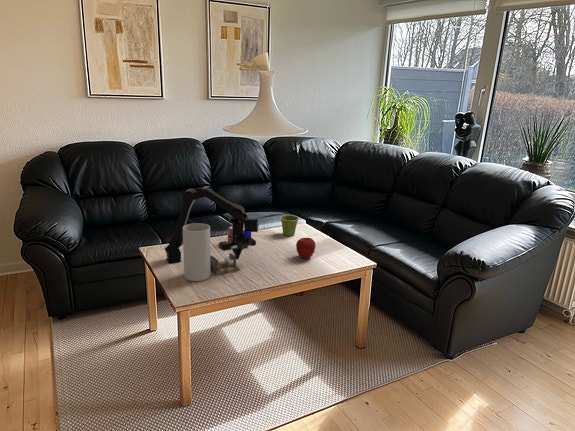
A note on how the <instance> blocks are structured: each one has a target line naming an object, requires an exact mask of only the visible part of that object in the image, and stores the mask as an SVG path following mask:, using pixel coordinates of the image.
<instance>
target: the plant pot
mask: <svg viewBox="0 0 575 431" xmlns="http://www.w3.org/2000/svg"><path fill="white" fill-rule="evenodd" d="M279 219H280V222H281V228H282V234H283V236H285V237H293V236H294V235H295V233H296V228H297V225H298V222H299V219H300V217H298V216H297V215H294V214H293V215H292V214H286V215H285V214H284V215H281V216H280V217H279Z"/></svg>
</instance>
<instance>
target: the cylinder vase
mask: <svg viewBox="0 0 575 431" xmlns="http://www.w3.org/2000/svg"><path fill="white" fill-rule="evenodd" d="M182 246H183V276H184V279H186V280H188V281H190V282H204V281H206V280H207V279H210V277H211V274H212V272H211V264H210V256H211V226H210V225H209V224H208V223H207V224H206V223H200V222H199V223H198V222H192V223H188V224H187V223H186V225H185V226H183V245H182Z"/></svg>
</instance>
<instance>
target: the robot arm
mask: <svg viewBox="0 0 575 431" xmlns="http://www.w3.org/2000/svg"><path fill="white" fill-rule="evenodd" d="M202 198H207V199H208V200H209V201H211V202H213V203H214V204H216V205H217V206H219V207H221V208H222V209H224V210H225V211H226V212H227V214H228V215H229V216H231V217H230V218H229V219H228V220H227V221H228V223H231V224H232V225H231V227H232V231H231V234H232V239H231V241H232V243H228V241H225V240H224V241H223V240H222V241H220V242H218V248H219V249H220V250H222V251H224V252H225V251H230V249H231V250H232V252H233V255H234V256H235V257H236V261H237V260H239V259H240V256H241V254H242V251H244V250H245V249H247V250H248V248H249V246H250V247H254V246H256V245H257V241H256V240H257V239H254V238H253V237H252V236H251V237H249V238H245V234H244V233H243V229H245V231H247V232H251V233H258V232H259V226H260V223H259V219H258V218H249V215H248V214H247V213H246V212H245V208H244V206H242V205H241V204H238V203H235V202H231V201H230V200H228V199H227V198H225V197H223V196H221V195H220V194H218V193H217V192H215V191H213V190H212V189H211V188H209V187H204V188H188V189H187V190H186V191H184V192H183V194H182V198H181V203H182V206H181V211H180V214H179V217H178V220H177V225H176V228H175V231H174V232H173V234H172V236H171V238H170V240H169V243H168V244H167V245H166V246H165V248H164V250H165V253H166V255H165V256H166V258H165V261H167V263H168V264H174V263H175V264H176V263H180V262H181V263H182V252H181V249H180V247H182V246H183V226H185V225H187V222H188V219H189V215H190V213H191V210H192V207H193V205H194V203H195V202H196V200H198V199H202Z"/></svg>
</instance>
